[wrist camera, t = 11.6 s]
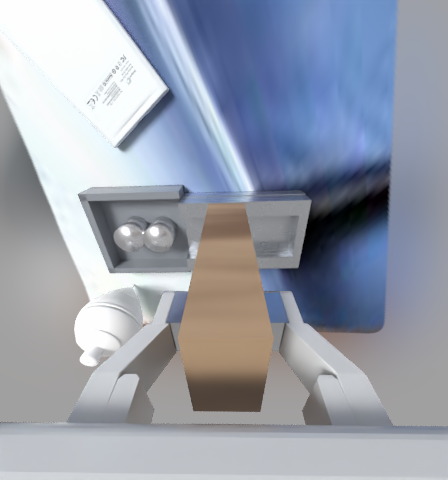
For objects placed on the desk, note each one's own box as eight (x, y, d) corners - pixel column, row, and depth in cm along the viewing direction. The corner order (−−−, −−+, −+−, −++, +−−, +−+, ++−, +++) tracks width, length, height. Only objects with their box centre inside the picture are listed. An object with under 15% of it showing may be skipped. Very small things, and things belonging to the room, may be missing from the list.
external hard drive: (50, -74, 15) (171, 90, 20) (2, 23, 17) (119, 147, 22) (31, -95, 13) (166, 88, 18) (-18, 14, 16) (112, 148, 21)
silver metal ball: (147, 219, 25) (138, 230, 23) (172, 214, 25) (166, 224, 22) (157, 241, 27) (149, 254, 24) (181, 237, 26) (176, 249, 24)
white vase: (98, 271, 30) (32, 347, 20) (143, 260, 29) (98, 335, 19) (124, 305, 34) (80, 384, 24) (165, 296, 33) (137, 375, 23)
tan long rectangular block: (208, 203, 14) (177, 337, 5) (244, 203, 14) (273, 338, 5) (211, 256, 16) (193, 411, 7) (242, 256, 16) (260, 411, 7)
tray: (91, 187, 24) (77, 194, 22) (182, 184, 24) (178, 191, 21) (118, 261, 29) (109, 273, 27) (193, 260, 29) (190, 271, 27)
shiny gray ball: (122, 215, 25) (110, 226, 22) (149, 216, 25) (140, 227, 22) (128, 239, 27) (117, 251, 24) (153, 239, 27) (145, 252, 24)
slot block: (184, 193, 24) (177, 203, 21) (300, 190, 24) (311, 199, 21) (192, 254, 29) (188, 270, 26) (290, 252, 28) (298, 268, 25)
